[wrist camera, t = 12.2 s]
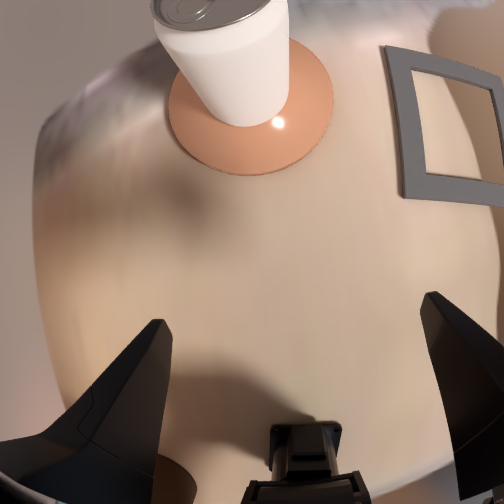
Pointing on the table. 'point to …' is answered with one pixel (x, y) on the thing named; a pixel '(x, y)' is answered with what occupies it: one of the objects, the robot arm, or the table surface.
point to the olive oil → (172, 483)
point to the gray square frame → (411, 131)
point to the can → (230, 54)
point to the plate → (263, 135)
